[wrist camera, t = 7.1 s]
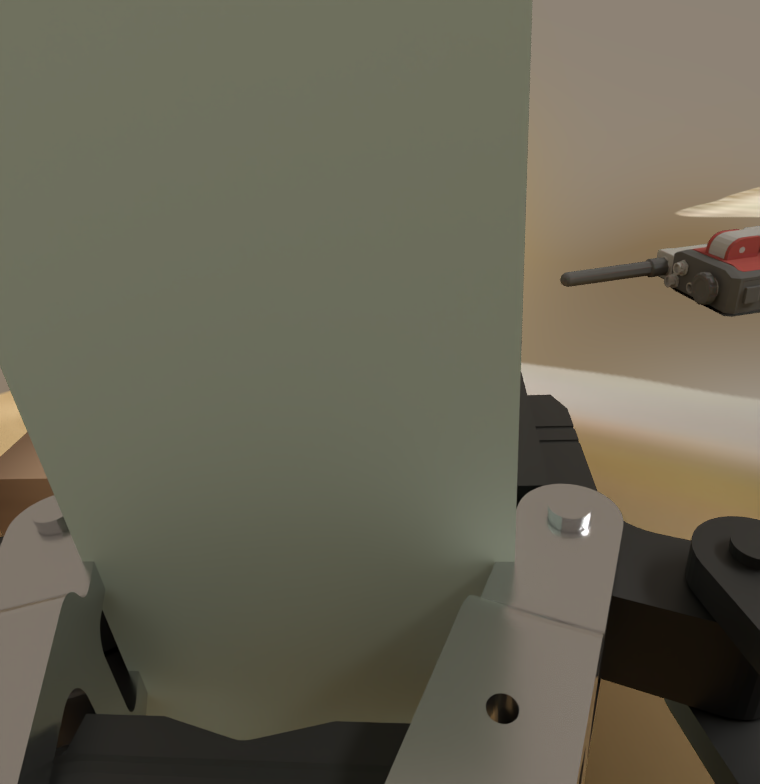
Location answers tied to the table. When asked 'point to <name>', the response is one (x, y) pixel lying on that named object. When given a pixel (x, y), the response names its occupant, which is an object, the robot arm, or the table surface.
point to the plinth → (20, 481)
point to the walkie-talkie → (699, 272)
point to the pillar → (270, 331)
